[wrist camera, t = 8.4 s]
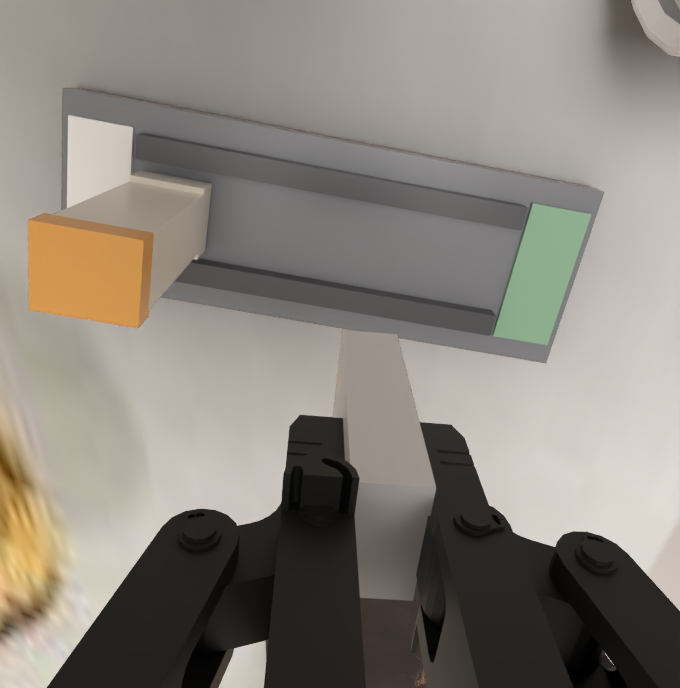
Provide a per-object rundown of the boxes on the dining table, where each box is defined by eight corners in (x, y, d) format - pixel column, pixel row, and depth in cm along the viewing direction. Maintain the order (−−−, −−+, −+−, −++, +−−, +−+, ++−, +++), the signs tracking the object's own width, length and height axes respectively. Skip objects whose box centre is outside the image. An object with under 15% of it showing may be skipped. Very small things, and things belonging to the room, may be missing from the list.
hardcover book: (489, 531, 44) (496, 553, 42) (459, 748, 53) (464, 776, 50) (264, 527, 44) (260, 550, 42) (272, 745, 53) (269, 773, 50)
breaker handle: (139, 169, 32) (28, 214, 20) (213, 183, 32) (143, 234, 20) (136, 238, 33) (29, 315, 22) (206, 250, 33) (138, 333, 22)
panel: (78, 88, 32) (54, 87, 29) (590, 186, 34) (612, 194, 31) (75, 270, 36) (52, 285, 33) (535, 349, 38) (551, 370, 35)
